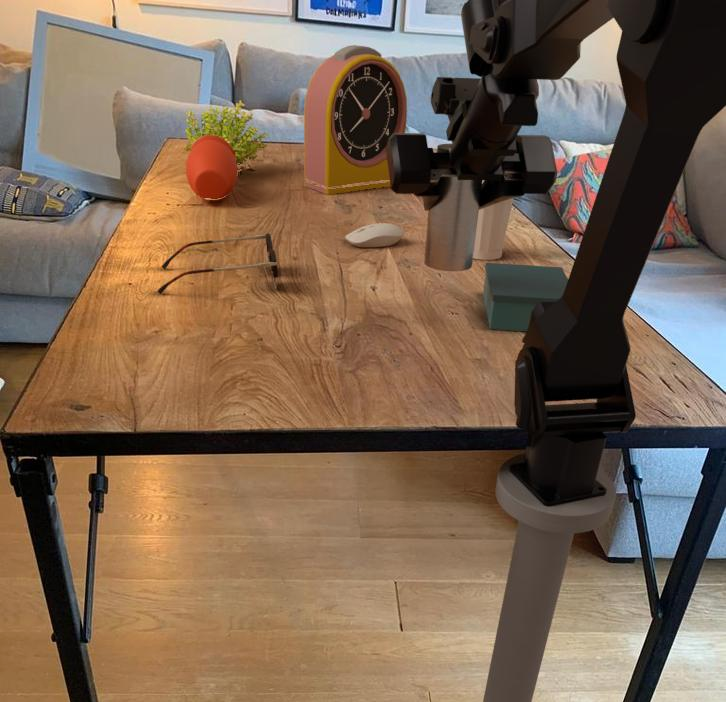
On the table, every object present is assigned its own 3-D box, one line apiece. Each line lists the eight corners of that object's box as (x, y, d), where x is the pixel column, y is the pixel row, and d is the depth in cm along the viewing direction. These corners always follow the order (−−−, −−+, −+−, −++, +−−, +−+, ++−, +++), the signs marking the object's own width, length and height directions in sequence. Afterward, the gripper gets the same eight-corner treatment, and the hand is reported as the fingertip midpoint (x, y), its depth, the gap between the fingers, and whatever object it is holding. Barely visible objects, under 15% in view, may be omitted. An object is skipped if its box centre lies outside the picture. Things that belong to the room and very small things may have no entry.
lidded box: (575, 335, 91) (582, 300, 88) (488, 329, 91) (493, 294, 89) (558, 299, 102) (564, 267, 99) (481, 294, 102) (485, 262, 100)
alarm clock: (327, 194, 151) (329, 46, 137) (302, 186, 157) (302, 43, 142) (403, 184, 162) (412, 47, 148) (377, 177, 168) (384, 44, 154)
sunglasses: (280, 295, 99) (276, 258, 96) (158, 304, 96) (151, 267, 94) (272, 264, 110) (269, 230, 107) (163, 272, 108) (157, 238, 105)
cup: (467, 262, 115) (477, 181, 108) (451, 247, 121) (459, 170, 115) (514, 260, 117) (526, 181, 110) (495, 246, 123) (506, 170, 117)
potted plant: (273, 236, 143) (267, 160, 177) (274, 161, 134) (267, 96, 167) (173, 233, 141) (186, 157, 174) (166, 156, 131) (181, 91, 165)
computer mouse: (340, 240, 123) (341, 221, 121) (394, 236, 126) (395, 218, 124) (353, 249, 118) (354, 230, 116) (408, 245, 121) (410, 227, 120)
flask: (458, 274, 88) (472, 153, 80) (415, 265, 90) (424, 146, 83) (479, 263, 92) (494, 147, 85) (437, 254, 95) (448, 141, 87)
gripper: (566, 53, 77) (512, 149, 92) (395, 46, 74) (368, 147, 89) (584, 146, 75) (526, 229, 90) (408, 143, 71) (379, 230, 86)
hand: (450, 207), depth 89 cm, fingers closed on flask, 6 cm apart
